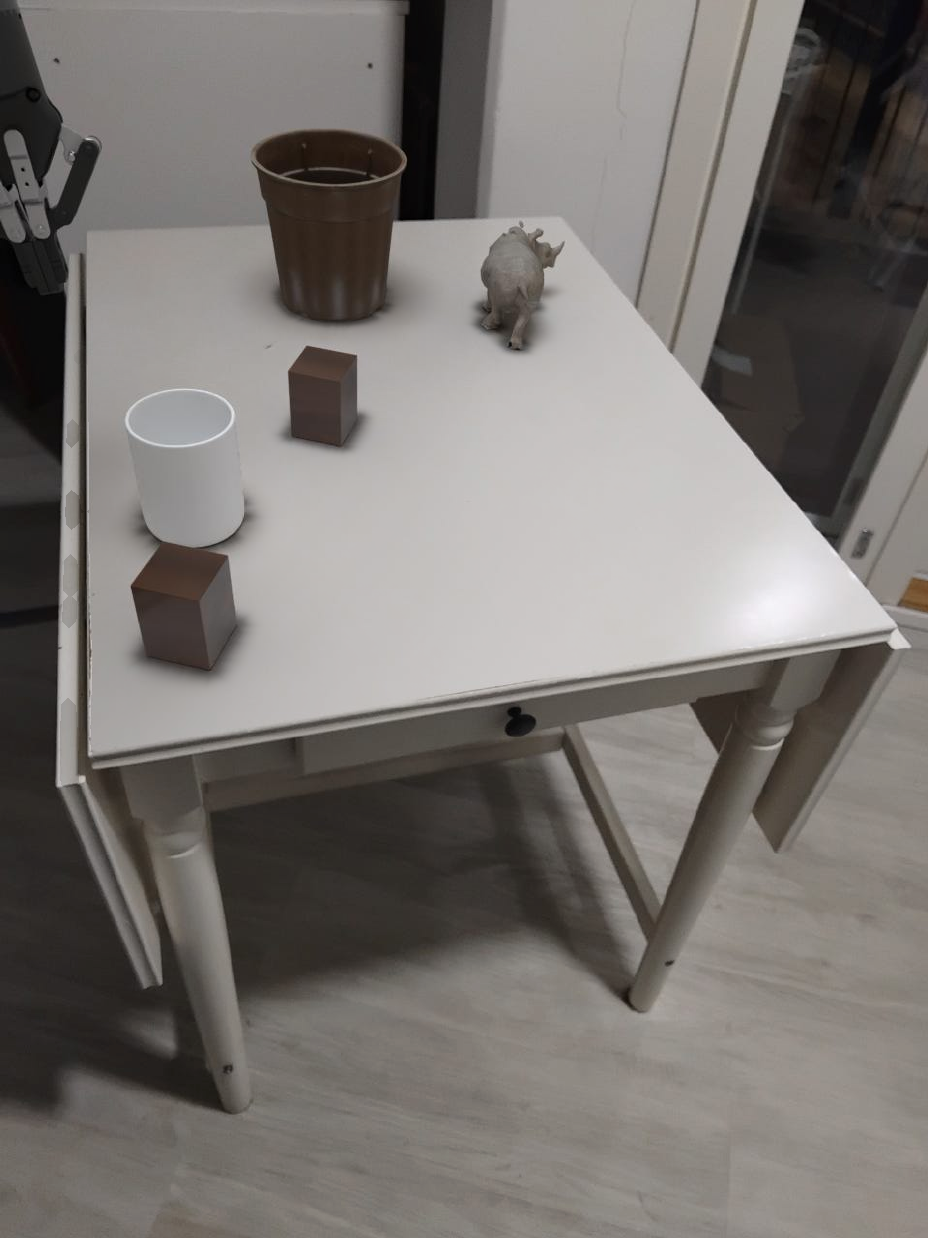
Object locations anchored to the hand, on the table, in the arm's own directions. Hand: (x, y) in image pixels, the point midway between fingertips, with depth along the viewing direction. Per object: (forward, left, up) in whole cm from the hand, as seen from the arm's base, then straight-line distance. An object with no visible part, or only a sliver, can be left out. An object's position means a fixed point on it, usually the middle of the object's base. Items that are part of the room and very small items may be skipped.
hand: (53, 290), depth 69 cm
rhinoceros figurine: (+51, +18, -19) cm, 57 cm away
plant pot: (+32, +28, -19) cm, 46 cm away
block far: (+22, +3, -19) cm, 29 cm away
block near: (+2, -20, -19) cm, 27 cm away
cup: (+7, -4, -19) cm, 20 cm away
